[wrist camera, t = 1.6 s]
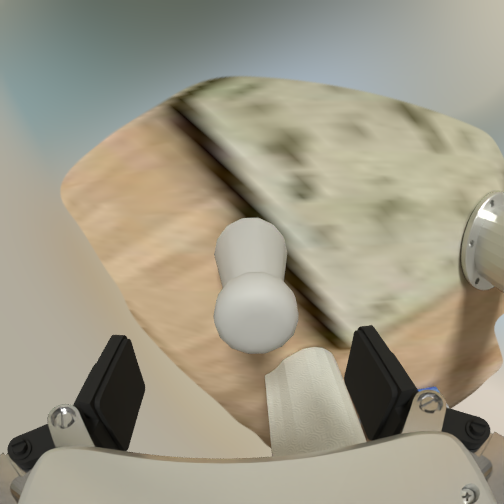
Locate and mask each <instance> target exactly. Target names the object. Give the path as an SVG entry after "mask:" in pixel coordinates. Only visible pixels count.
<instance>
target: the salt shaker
mask: <svg viewBox="0 0 504 504" xmlns="http://www.w3.org/2000/svg"><path fill="white" fill-rule="evenodd" d="M214 255H215V259H216V263H217V267H218V271H219V275H220V279H221V282H222V286H223V289H222V290H221V292H220V293H219V294H218V297H217V300H216V306H215V311H214V322H215V325H216V328H217V331H218V333H219V336H220V338H221V339H222V340H223V341H225V342H226V343H227V344H228V345H229V346H230V347H231V348H232V349H235V350H238V351H242V352H245V353H248V354H257V353H268V352H270V351H272V350H275V349H277V348H279V347H282V346H283V345H284V344H285V343H286V342H287V341H288V340H289V339H290V338H291V337H292V336H293V335H294V332H295V329H296V326H297V323H298V310H297V304H296V299H295V296H294V294H293V292H292V291H291V290H290V288H289V287H288V286H287V285H286V284H285V283H284V274H285V266H286V258H287V249H286V245H285V240H284V237H283V236H282V235H281V233H280V232H279V231H278V230H277V229H276V227H275V226H274V225H273V224H271V223H269V222H266V221H264V220H262V219H260V218H242V219H240V220H238V221H236V222H234V223H232V224H230V225H228V226H227V227H226V228H225V229H224V231H223V232H222V233H221V235H220V236H219V238H218V239H217V243H216V248H215V253H214Z"/></svg>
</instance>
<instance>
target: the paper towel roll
mask: <svg viewBox="0 0 504 504" xmlns="http://www.w3.org/2000/svg"><path fill="white" fill-rule="evenodd" d="M265 383H266V394H267V405H268V416H269V427H270V437H271V448H272V457H274V456H285V455H294V454H303V453H310V452H317V451H323V450H329V449H335V448H340V447H345V446H350V445H355V444H360V443H364V442H367V441H366V439H365V436H364V433H363V430H362V428H361V425H360V422H359V420H358V417H357V414H356V412H355V409H354V406H353V404H352V401H351V398H350V396H349V393H348V391H347V388H346V385H345V383H344V380H343V378H342V375H341V373H340V370H339V368H338V365H337V363H336V360H335V358H334V357H333V355H332V353H331V352H329V351H327V350H326V349H324V348H319V347H310V348H305V349H302V350H300V351H298V352H296V353H294V354H293V355H291V356H289V357H287V358H285V359H284V360H283V361H282V362H281V363H280V364H279V365H278V367H277V368H276V369H274V370H273V371H272V372H270V373H269V374H266V375H265Z"/></svg>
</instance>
